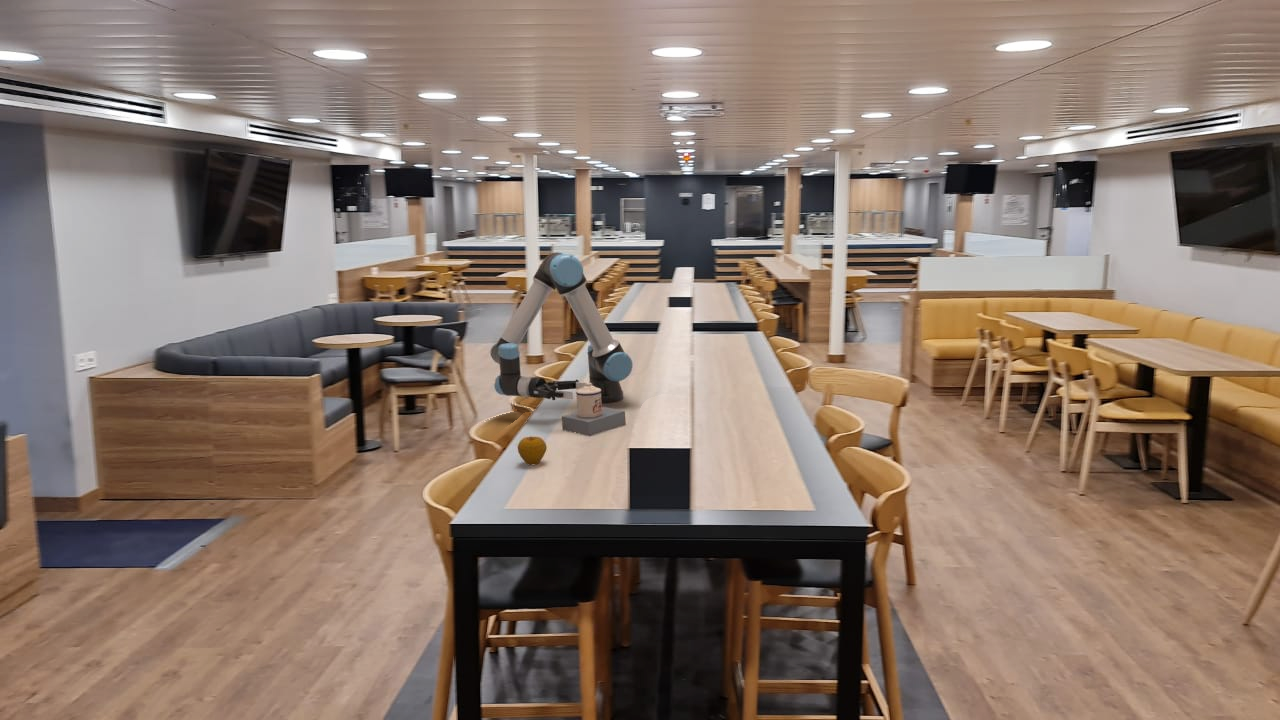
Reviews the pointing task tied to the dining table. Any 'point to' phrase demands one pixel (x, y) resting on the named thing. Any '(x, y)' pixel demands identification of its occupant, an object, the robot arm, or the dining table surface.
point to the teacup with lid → (589, 401)
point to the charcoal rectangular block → (594, 422)
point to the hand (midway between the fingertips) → (582, 390)
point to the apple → (532, 449)
